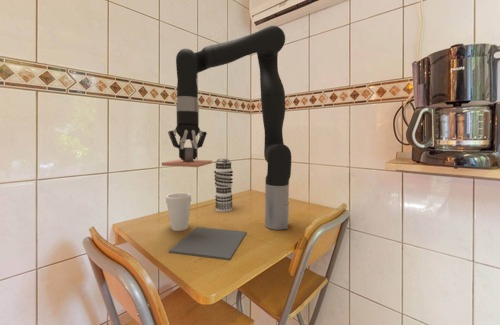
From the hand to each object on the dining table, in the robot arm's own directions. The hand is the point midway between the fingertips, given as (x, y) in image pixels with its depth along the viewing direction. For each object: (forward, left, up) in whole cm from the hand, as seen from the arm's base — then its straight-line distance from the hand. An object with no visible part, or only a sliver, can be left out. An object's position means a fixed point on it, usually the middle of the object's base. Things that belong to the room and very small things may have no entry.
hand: (188, 159), depth 86 cm
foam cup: (+7, -4, -28) cm, 29 cm away
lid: (0, 0, -2) cm, 2 cm away
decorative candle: (-2, -31, -28) cm, 42 cm away
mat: (-10, +5, -28) cm, 30 cm away
